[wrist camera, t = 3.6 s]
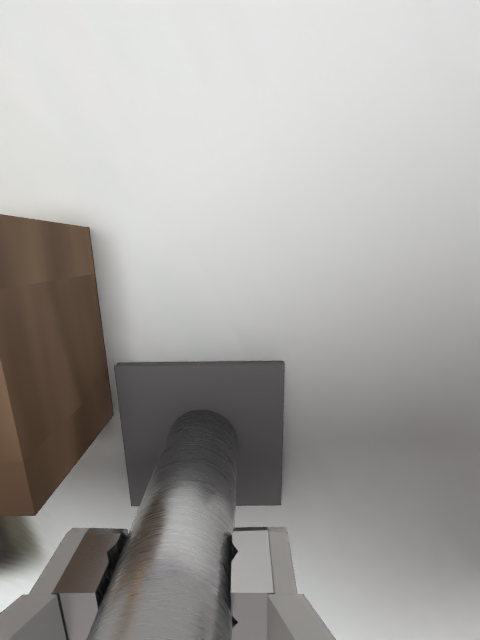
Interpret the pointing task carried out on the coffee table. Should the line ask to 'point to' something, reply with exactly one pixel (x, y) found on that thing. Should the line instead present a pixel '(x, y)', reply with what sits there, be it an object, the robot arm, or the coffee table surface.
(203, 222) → the coffee table surface
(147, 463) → the mat
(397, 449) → the coffee table surface
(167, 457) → the peg
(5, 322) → the socket block
